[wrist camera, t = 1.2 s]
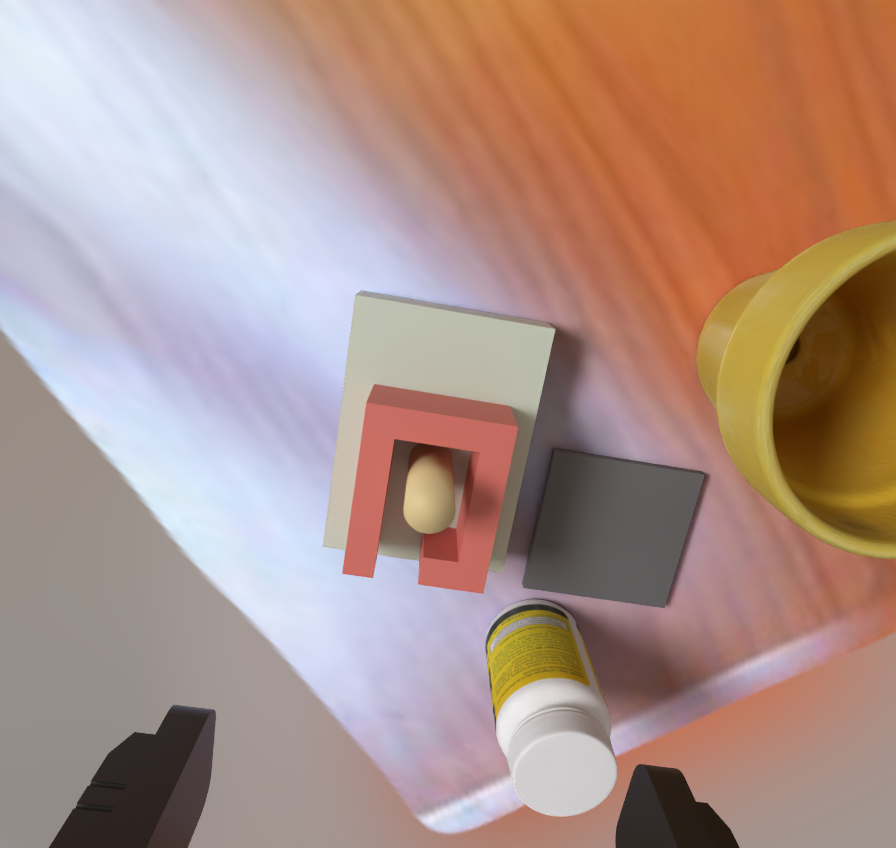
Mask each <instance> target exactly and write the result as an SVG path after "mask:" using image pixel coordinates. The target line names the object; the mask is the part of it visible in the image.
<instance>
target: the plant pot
mask: <svg viewBox="0 0 896 848" xmlns="http://www.w3.org/2000/svg"><path fill="white" fill-rule="evenodd" d="M697 370H698V375H699V379H700V382H701V385H702V387H703V389H704V391H705V393H706V395H707V397H708V398H709V400H710V401H711V403H712V404H713V406H714V408H715V409H716V411H717V416H718V422H719V428H720V431H721V435H722V438H723V441H724V444H725V446H726V449H727V451H728V453H729V455H730V457H731V459H732V461H733V462H734V464H735V466H736V467H737V469H738V470H739V472H740V473H741V474H742V475H743V477H744V478H745V479H746V480H747V481H748V482H749V483H750V485H751V486H752V487H753V488H754V489H755V490H757V491H758V492H759V493H760V494H761V495H762V496H763V497H764V498H765V499H766V500H767V501H768V502H770V503H771V504H772V505H773V506H774V507H775V508H776V509H778V510H779V511H780V512H781V513H783V514H784V515H785V516H786V517H788V518H789V519H790V520H791V521H793V522H794V523H795V524H797V525H798V526H799V527H801V528H802V529H803V530H805V531H806V532H808V533H809V534H811V535H812V536H814V537H816V538H817V539H819V540H821V541H823V542H825V543H827V544H829V545H831V546H834V547H836V548H839V549H841V550H844V551H847V552H850V553H854V554H857V555H862V556H867V557H873V558H882V559H896V220H895V221H888V222H880V223H875V224H870V225H865V226H861V227H857V228H853V229H850V230H847V231H844V232H841V233H839V234H836V235H834V236H831V237H829V238H827V239H825V240H823V241H821V242H818V243H817V244H815V245H813V246H811V247H810V248H808V249H806V250H805V251H803V252H801V253H800V254H799V255H797V256H796V257H794V258H793V259H792V260H790V261H789V262H788V263H786V264H785V265H784V266H783V267H781V268H780V269H777V270H774V271H771V272H768V273H764V274H760V275H757V276H755V277H752V278H750V279H748V280H746V281H744V282H742V283H741V284H739V285H738V286H736V287H735V288H733V289H732V290H731V291H729V292H728V293H727V294H726V295H725V296H724V297H723V298H722V299H721V300H720V301H719V302H718V304H717V305H716V306H715V307H714V309H713V310H712V312H711V313H710V315H709V317H708V318H707V320H706V322H705V324H704V326H703V329H702V331H701V334H700V338H699V342H698V347H697Z"/></svg>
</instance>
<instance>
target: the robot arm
mask: <svg viewBox="0 0 896 848" xmlns="http://www.w3.org/2000/svg"><path fill="white" fill-rule="evenodd" d="M215 720H216V713H215V710H211V709H204V708H196V707H187V706H180V705H173V706H172V707H171V709H170V710H169V711H168V713H167V715H166V717H165V718H164V720H163V722H162V724H161V726H160V727H159V729H158V731H157V733H156V734H155V735H153V734H145V733H137V732H134V733H133V734H132V735H131V736H130V737H128V738H127V739H126V740H125V741H123V742H122V743H121V744H120V745H118V746H117V747H116V748H115V749H114V750H112V751H111V752H110V753H109V754H108V755H107V757H106V758H105V760H104V761H103V763H102V765H101V766H100V768H99V769H98V771H97V773H96V774H95V776H94V777H93V779H92V780H91V784H90V786H88V787H87V788H86V790H85V791H84V793H83V795H82V796H81V798H80V799H79V801H78V802H77V806H76V808H75V809H73V810H72V812H71V814H70V815H69V817H68V818H67V820H66V821H65V823H64V825H63V826H62V828H61V829H60V831H59V832H58V834H57V836H56V837H55V839H54V841H53V842H52V844H51V845H50V847H49V848H188V845H189V843H190V841H191V838H192V836H193V833H194V831H195V828H196V826H197V823H198V821H199V818H200V816H201V813H202V810H203V807H204V804H205V801H206V797H207V793H208V789H209V784H210V778H211V770H212V757H213V745H214V732H215ZM616 848H739V846H738V844H737V842H736V840H735V838H734V836H733V834H732V832H731V830H730V828H729V827H728V826H727V825H726V824H725V823H724V821H723V820H722V819H721V818H720V817H719V816H718V815H717V814H716V813H715V811H714V810H713V809H712V808H711V807H710V806H709V805H708V803H702V802H696V801H695V799H694V797H693V795H692V792H691V790H690V788H689V786H688V784H687V782H686V780H685V777H684V776H683V774H682V772H681V771H680V770H678V769H675V768H666V767H657V766H651V765H642V764H639V765H637V766H636V768H635V770H634V772H633V776H632V778H631V782H630V785H629V788H628V791H627V794H626V798H625V801H624V804H623V807H622V810H621V814H620V817H619V820H618V823H617V828H616Z"/></svg>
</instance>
